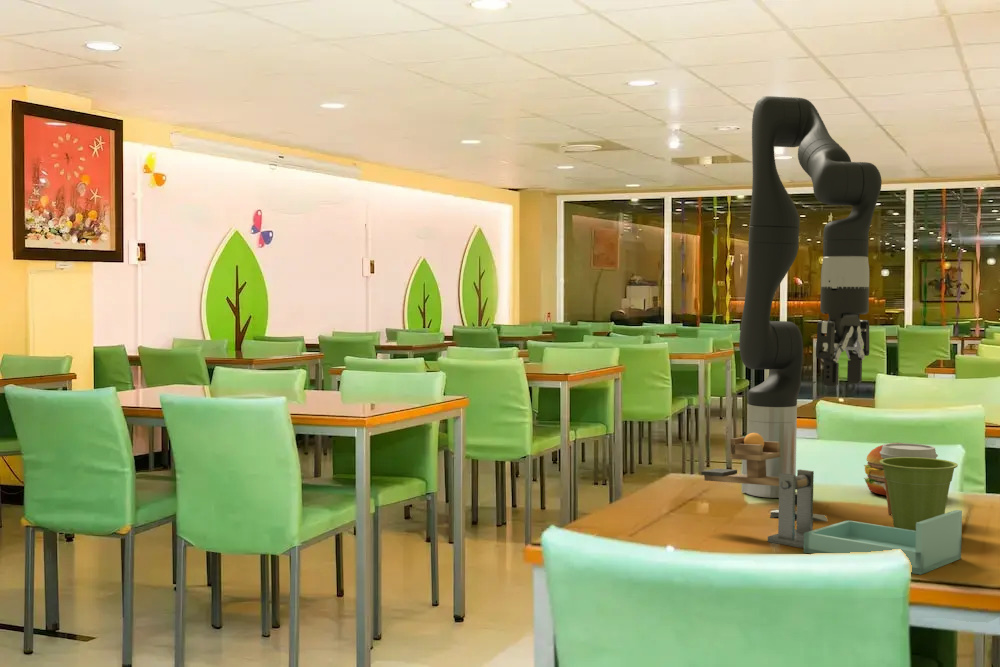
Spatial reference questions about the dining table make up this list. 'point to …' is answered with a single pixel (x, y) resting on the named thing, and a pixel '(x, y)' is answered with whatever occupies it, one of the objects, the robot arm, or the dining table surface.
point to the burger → (875, 472)
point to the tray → (894, 540)
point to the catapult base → (787, 510)
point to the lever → (752, 465)
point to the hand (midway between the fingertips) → (842, 384)
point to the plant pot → (917, 488)
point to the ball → (754, 439)
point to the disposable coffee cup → (905, 451)
